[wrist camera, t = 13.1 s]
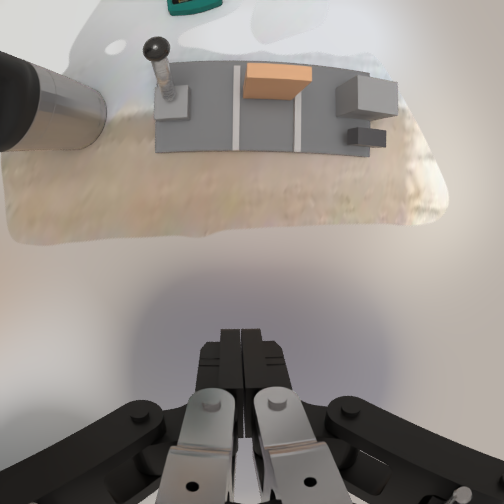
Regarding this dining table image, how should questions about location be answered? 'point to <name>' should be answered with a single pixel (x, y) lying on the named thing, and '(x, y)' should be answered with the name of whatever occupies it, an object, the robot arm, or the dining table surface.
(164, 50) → the toggle lever
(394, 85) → the console
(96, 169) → the dining table surface
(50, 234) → the dining table surface
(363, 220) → the dining table surface
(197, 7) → the digital multimeter
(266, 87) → the tan upright board
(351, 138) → the push button
